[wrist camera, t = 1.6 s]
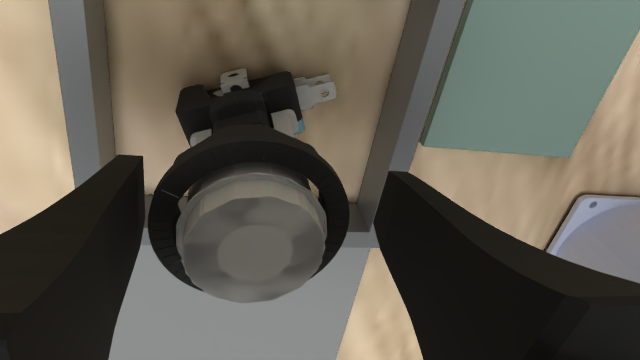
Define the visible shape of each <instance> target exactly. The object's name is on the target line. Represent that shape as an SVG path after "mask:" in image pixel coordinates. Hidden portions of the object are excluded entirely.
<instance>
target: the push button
mask: <svg viewBox="0 0 640 360" xmlns="http://www.w3.org/2000/svg"><path fill="white" fill-rule="evenodd" d="M233 74H238V75H237V76H234V77H229V76H231V75H233ZM318 81H323V82H324V83H322V84H318V85H316V83H317V82H318ZM220 83H221V85H220V86H221V88H218V89H214V90H210V91H206V90H205V88H204V86H203V85H195V86H191V87H187V88H184V89H182V90H181V91H180V95H179V99H178V103H177V107H176V114H177V116H178V119H179V121H180V123H181V126H182V128H183V131H184V133H185V135H186V138H187V140H188V143H189V145H190V147H191V148H189V149H188V150H186V151H185V152H183V153H181V154H180V155H178V157H177V158H176V160H175V162H174V164H173V166H171V168H170V169H169V170H168V171H167V172H166V173H165V175H164V176H163V177H162V179H161V180H160V182H159V184H158V186H157V188H156V190H155V192H154V195H153V198H152V201H151V205H150V209H149V214H148V235H149V239H150V243H151V245H152V248H153V250H154V252H155V254H156V256H157V258H158V259H159V261H160V262H161V263H162V265H163V266H164V267H165V268H166V269H167V270H168V271H169V272H170V273H171V274H172V275H174V276H175V277H176V278H177V279H179V280H180V281H182V282H183V283H185V284H187V285H189V286H191V287H193V288H195V289H197V290H200V291H203V292H205V293H206V294H208V295H211V296H213V297H214V298H217V299H222V300H227V301H232V302H235V303H242V304H246V303H255V302H263V301H271V300H275V299H277V298H279V297H281V296H284V295H286V294H288V293H290V292H292V291H295V290H297V289H299V288H300V287H301V286H303V285H304V284H305V283H306V281H307V280H309V279H310V278H312V277H313V276H315V275H316V274H318V273H319V272H320V271H321V270H322V269H324V268H325V267H326V266H327V265H328V264H329V263H330V261H331V260H332V259H333V258H334V257H335V255H336V254H337V252H338V251H339V249H340V247H341V246H342V244H343V242H344V239H345V237H346V234H347V230H348V226H349V217H350V211H349V203H348V199H347V195H346V193H345V190H344V188H343V185H342V183H341V181H340V179H339V177H338V175H337V174H336V172H335V171H334V170H333V168H332V167H331V166H330V165H329V164H328V163H327V162H326V161H325V160H324V159H323V158H322V157H321V156H320V155H318V153H317V152H316V150H315V149H314V148H313V147H312V146H311V145H309V144H306V143H304V142H302V141H300V140H297V139H295V136H294V135H295V134H299V133H301V132H303V131H304V130H305V126H304V122H303V117H302V113H301V111H303V110H307V109H311V108H313V104H317V103H321V102H325V101H329V100H333V99H336V97H337V94H336V88H335V83H334V82H333V81H331V78H330V75H329V74H325V75H321V76H317V77H313V78H309V79H305V76H303V77H299V78H295V79H293V77H292V75H291V73H290V72H288V71H285V72H280V73H276V74H274V75H270V76H266V77H262V78H258V79H254V80H250V81H248V80H247V71H246V69H245V68H241V69H237V70H233V71H229V72H225V73H223V74H221V79H220ZM326 92H329V93H328V95H327V96H325V97H322V96H320V94H322V93H326ZM307 178H308V179H309V180H310V181H311V182H312V183H313V184H314V185H315V186H316V187H317V188H318V189H319V197H318V200H317V198H316V197H315V195H314V194H313V193H312V192H311V189H310V186H309V182H308V179H307ZM188 189H189V191H188V199H187V205H186V207H185V209H184V210H183V212H182V214H181V211H180V208H179V205H178V202H179V201H180V199H181V198H182V196H183V195H184V193H185V192H186V191H187V190H188Z"/></svg>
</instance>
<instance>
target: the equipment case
mask: <svg viewBox="0 0 640 360" xmlns="http://www.w3.org/2000/svg"><path fill="white" fill-rule="evenodd" d="M465 1H466V0H412V2H411V5H410V9H409V13H408V16H407V20H406V24H405V27H404V31H403V35H402V38H401V42H400V46H399V49H398V53H397V57H396V60H395V64H394V68H393V71H392V75H391V79H390V82H389V86H388V90H387V94H386V97H385V101H384V105H383V108H382V112H381V116H380V119H379V123H378V127H377V130H376V134H375V138H374V141H373V145H372V149H371V152H370V156H369V160H368V163H367V167H366V171H365V174H364V178H363V182H362V185H361V189H360V193H359V197H358V200H357V203H349V211H350V217H349V226H348V230H347V234H346V237H345V239H344V242H343V244H342V246H341V247H340V249H339V251H338V252H337V254H336V255H335V257H334V258H333V259H332V260H331V261H330V263H329V264H328V265H327V266H326V267H325V268H324V269H322V270H321V271H320V272H319V273H318V274H316V275H315V276H313V277H312V278H310V279H309V280H307V281H306V283H305V284H304V285H303V286H301V287H300V288H299V289H297V290H295V291H292V292H290V293H288V294H286V295H284V296H281V297H279V298H277V299H275V300H271V301H263V302H255V303H246V304H242V303H235V302H232V301H227V300H222V299H217V298H214V297H213V296H211V295H208V294H206V293H205V292H203V291H200V290H197V289H195V288H193V287H191V286H189V285H187V284H185V283H183V282H182V281H180V280H179V279H177V278H176V277H175V276H174V275H172V274H171V273H170V272H169V271H168V270H167V269H166V268H165V267H164V266H163V265H162V263H161V262H160V261H159V259H158V258H157V256H156V254H155V252H154V250H153V248H152V245H151V243H150V239H149V235H148V214H149V209H150V205H151V201H152V198H153V195H145V223H144V229H143V235H142V240H141V246H140V250H139V253H138V256H137V259H136V262H135V266H134V269H133V272H132V275H131V278H130V281H129V284H128V287H127V290H126V293H125V297H124V300H123V303H122V306H121V309H120V312H119V315H118V319H117V323H116V326H115V330H114V334H113V339H112V344H111V349H110V354H109V359H108V360H336V357H337V354H338V351H339V347H340V344H341V341H342V338H343V335H344V331H345V328H346V325H347V322H348V319H349V315H350V312H351V309H352V306H353V303H354V299H355V296H356V293H357V290H358V287H359V284H360V280H361V277H362V274H363V271H364V268H365V264H366V261H367V258H368V255H369V252H370V248H380V247H379V243H378V240H377V237H376V233H375V229H374V225H373V220H374V217H375V214H376V211H377V207H378V204H379V201H380V198H381V194H382V191H383V188H384V184H385V181H386V178H387V175H388V171H403V172H409V169H410V166H411V163H412V160H413V157H414V154H415V151H416V148H417V145H418V142H419V139H420V136H421V133H422V130H423V127H424V124H425V121H426V118H427V115H428V112H429V109H430V106H431V103H432V100H433V97H434V94H435V91H436V88H437V85H438V82H439V79H440V76H441V73H442V70H443V67H444V64H445V61H446V58H447V55H448V52H449V49H450V46H451V43H452V40H453V37H454V34H455V31H456V28H457V25H458V22H459V19H460V16H461V13H462V10H463V7H464V4H465ZM48 2H49V9H50V16H51V23H52V30H53V37H54V44H55V51H56V58H57V65H58V72H59V79H60V86H61V93H62V100H63V107H64V114H65V121H66V128H67V135H68V142H69V149H70V156H71V163H72V170H73V177H74V184H75V189H76V188H77V187H78V186H80V185H81V184H82V183H84V182H85V181H86V180H88V179H89V178H90V177H91V176H93V175H94V174H95V173H96V172H97V171H99V170H100V169H101V168H102V167H104V166H105V165H106V164H107V163H109V162H110V161H111V160H112V159H114V158H115V157H116V154H115V142H114V129H113V117H112V104H111V92H110V79H109V67H108V54H107V42H106V30H105V17H104V5H103V0H48ZM187 199H188V197H182V198H181V199H180V201H179V202H178V205H179V208H180V211H181V214H182V212H183V210H184V209H185V207H186V205H187Z"/></svg>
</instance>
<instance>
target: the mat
mask: <svg viewBox="0 0 640 360" xmlns="http://www.w3.org/2000/svg"><path fill="white" fill-rule="evenodd" d="M639 30H640V0H467V2H466V5H465V8H464V11H463V14H462V17H461V20H460V23H459V26H458V29H457V32H456V35H455V38H454V41H453V44H452V47H451V50H450V53H449V56H448V59H447V62H446V65H445V68H444V71H443V74H442V77H441V80H440V83H439V86H438V89H437V92H436V95H435V98H434V101H433V104H432V107H431V110H430V113H429V116H428V119H427V122H426V125H425V128H424V131H423V134H422V137H421V140H420V143H421V144H422V145H423V146H424V147H437V148H450V149H462V150H475V151H488V152H500V153H513V154H526V155H538V156H551V157H564V158H569V157H570V155H571V154H572V152H573V150H574V148H575V146H576V145H577V143H578V141H579V139H580V137H581V135H582V134H583V132H584V130H585V128H586V126H587V125H588V123H589V121H590V119H591V117H592V115H593V114H594V112H595V110H596V108H597V106H598V105H599V103H600V101H601V99H602V97H603V95H604V94H605V92H606V90H607V88H608V86H609V85H610V83H611V81H612V79H613V77H614V75H615V74H616V72H617V70H618V68H619V66H620V65H621V63H622V61H623V59H624V57H625V55H626V54H627V52H628V50H629V48H630V46H631V45H632V43H633V41H634V39H635V37H636V35H637V34H638V32H639Z"/></svg>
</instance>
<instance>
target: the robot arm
mask: <svg viewBox="0 0 640 360" xmlns="http://www.w3.org/2000/svg"><path fill="white" fill-rule="evenodd" d="M144 223H145V194H144V170H143V156H133V155H117V156H116V157H115V158H114V159H112V160H111V161H110V162H109V163H107V164H106V165H105V166H104V167H102V168H101V169H100V170H99V171H97V172H96V173H95V174H94V175H93V176H91V177H90V178H89V179H88V180H86V181H85V182H84V183H82V184H81V185H80V186H78V187H77V188H76V189H74V190H73V191H72V192H70V193H69V194H67V195H66V196H64V197H63V198H61V199H60V200H59V201H57V202H56V203H54V204H53V205H51V206H50V207H48V208H47V209H45V210H44V211H42V212H40V213H39V214H37V215H35V216H34V217H32V218H30V219H28V220H27V221H25V222H23V223H21V224H19V225H17V226H16V227H14V228H12V229H10V230H8V231H6V232H4V233H2V234H0V360H108V359H109V354H110V349H111V344H112V339H113V334H114V330H115V326H116V323H117V319H118V315H119V312H120V309H121V306H122V303H123V300H124V297H125V293H126V290H127V287H128V284H129V281H130V278H131V275H132V272H133V269H134V266H135V262H136V259H137V256H138V253H139V250H140V246H141V240H142V235H143V229H144ZM373 225H374V229H375V233H376V237H377V240H378V243H379V247H380V250H381V252H382V255H383V257H384V259H385V261H386V264H387V266H388V268H389V271H390V273H391V275H392V277H393V279H394V282H395V284H396V286H397V288H398V290H399V293H400V295H401V297H402V299H403V301H404V304H405V306H406V308H407V311H408V313H409V316H410V318H411V321H412V324H413V327H414V330H415V333H416V337H417V340H418V343H419V346H420V349H421V353H422V356H423V360H640V197H623V196H604V195H583V196H580V197H579V198H578V199H577V200H576V202H575V204H574V205H573V207H572V209H571V210H570V212H569V214H568V215H567V217H566V219H565V220H564V222H563V224H562V225H561V227H560V229H559V231H558V232H557V234H556V236H555V237H554V239H553V241H552V242H551V244H550V246H549V247H548V249H547V251H546V252H545V251H543V250H540V249H538V248H536V247H533V246H531V245H529V244H527V243H525V242H522V241H520V240H518V239H516V238H514V237H512V236H510V235H508V234H507V233H505V232H503V231H501V230H499V229H497V228H495V227H493V226H492V225H490V224H488V223H486V222H485V221H483V220H481V219H480V218H478V217H476V216H475V215H473V214H471V213H470V212H468V211H467V210H465V209H464V208H462V207H460V206H459V205H457V204H456V203H454V202H453V201H451V200H450V199H448V198H447V197H446V196H444V195H443V194H441V193H440V192H438V191H437V190H435V189H434V188H432V187H431V186H429V185H428V184H426V183H425V182H423V181H422V180H420V179H419V178H417V177H415V176H414V175H412V174H410V173H408V172H403V171H388V175H387V178H386V181H385V184H384V188H383V191H382V194H381V198H380V201H379V204H378V207H377V211H376V214H375V217H374V220H373Z"/></svg>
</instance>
